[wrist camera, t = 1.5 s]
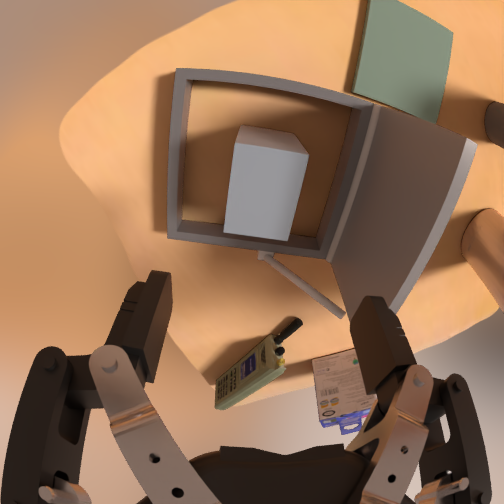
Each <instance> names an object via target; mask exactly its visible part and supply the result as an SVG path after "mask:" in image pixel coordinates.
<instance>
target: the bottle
mask: <svg viewBox="0 0 504 504" xmlns="http://www.w3.org/2000/svg"><path fill="white" fill-rule="evenodd" d="M485 129H486V133H487V136H488V137H489V139H490V140H491V141H492V142H493V143H495V144H496V145H498V146H500V147H502V148H504V104H503V103H499V102H493V103H491V104H490V105H489V107H488V108H487V111H486V114H485Z"/></svg>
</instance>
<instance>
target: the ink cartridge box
mask: <svg viewBox="0 0 504 504" xmlns="http://www.w3.org/2000/svg"><path fill="white" fill-rule="evenodd" d="M312 366H313V374H314V382H315V390H316V398H317V406H318V414H319V421H320V422H321V425H322V426H323V427H324V428H325V427H329V426H334V425H338V424H339V425H340V430H341V434H342V435H344V434H348V433H352V432H356V431H360V429H361V427H362V422H361V418H364V417H367V415H368V413H369V411H370V409H371V407H372V405H373V403H374V401H375V400H376V399H377V397H376V394H373V395H366V390H365V386H364V382H363V378H362V374H361V370H360V366H359V362H358V358H357V355H356V351H355V349H352V350H348V351H345V352H341V353H337V354H333V355H329V356H325V357H321V358H317V359H313V360H312ZM352 424H359V425H358V426H357V427H355V428H354V429H350V430H347V429H344V427H345V426H348V425H352Z"/></svg>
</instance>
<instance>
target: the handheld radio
mask: <svg viewBox="0 0 504 504" xmlns="http://www.w3.org/2000/svg"><path fill="white" fill-rule="evenodd" d="M302 325H303V322H302V320H301V319H299V318H296V319H295V320H294V321H293V322H292V323H291V324H290V325H289V326H288V327H286V328H285V329H284V330H283V331H282V332H281V333H280V335H278V336H275V335H272V334H270V335H268V336H267V337H266V338H265V339H264V340H263V341H262V342H261V343H259V344H258V345H257V346H256V347H255V348H254V349H253V350H251V351H250V352H249V353H248V354H247V355H246V356H245V357H243V358H242V359H241V360H240V361H239V362H238V363H236V364H235V365H234V366H233V367H232V368H230V369H229V370H228V371H227V372H226V373H224V374H223V375H222V376H221V377H220V378H218V379H217V380H216V390H215V409H219V410H226V409H228V408H229V407H231V406H233V405H234V404H236V403H238V402H239V401H241V400H243V399H244V398H246V397H248V396H249V395H251V394H252V393H254V392H256V391H257V390H259V389H260V388H262V387H263V386H265V385H266V384H268V383H270V382H271V381H273V380H274V379H276V378H277V377H279V376H280V375H281V374H283V373H284V371H285V370H286V369H287V368H285V367H284V363H285V360H284V359H283V353H284V352H285V349H284V348H283V347H282V344H281V343H282V342H283V340H284V339H286V338H288V337H289V336H290V335H291V334H292V333H294V332H295V331H296V330H297V329H298V328H299V327H301V326H302Z"/></svg>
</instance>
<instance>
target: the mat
mask: <svg viewBox="0 0 504 504" xmlns="http://www.w3.org/2000/svg"><path fill="white" fill-rule="evenodd" d="M452 40H453V32H451V31H450V30H448V29H447V28H445V27H444V26H442V25H441V24H439V23H437V22H436V21H434V20H433V19H431V18H429V17H428V16H426V15H424V14H422V13H421V12H419V11H417V10H415V9H413V8H411V7H409V6H407V5H405V4H404V3H402V2H399V1H397V0H368V4H367V10H366V17H365V23H364V29H363V34H362V40H361V45H360V51H359V56H358V61H357V66H356V71H355V75H354V80H353V85H352V89H351V92H353V93H356V94H359V95H362V96H365V97H368V98H371V99H374V100H376V101H379V102H382V103H384V104H387V105H390V106H392V107H395V108H397V109H399V110H402V111H404V112H407V113H409V114H411V115H413V116H416V117H418V118H420V119H423V120H426V121H428V122H431V123H433V124H436V122H437V119H438V115H439V111H440V107H441V103H442V98H443V94H444V89H445V84H446V79H447V74H448V68H449V62H450V56H451V48H452Z"/></svg>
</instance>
